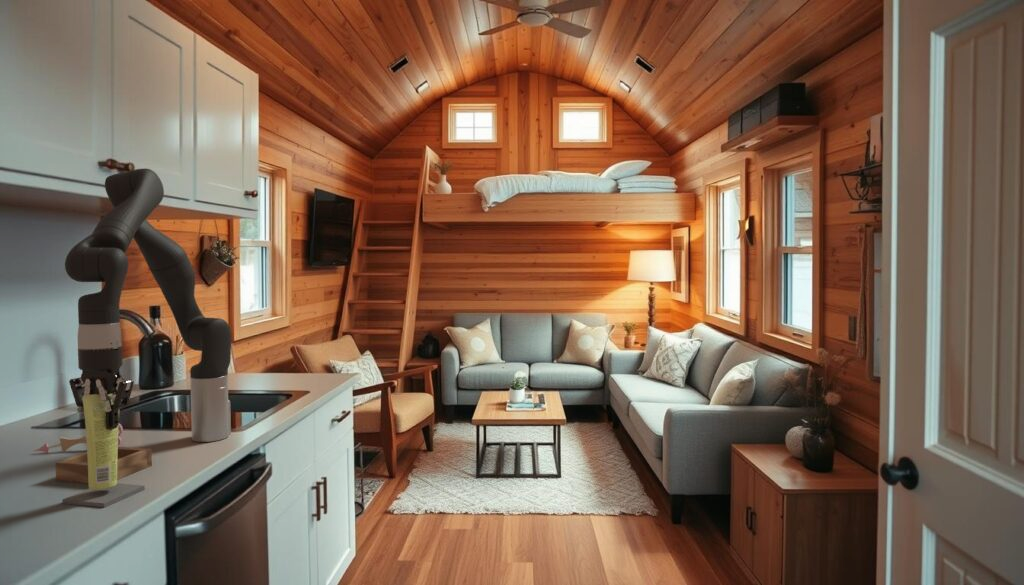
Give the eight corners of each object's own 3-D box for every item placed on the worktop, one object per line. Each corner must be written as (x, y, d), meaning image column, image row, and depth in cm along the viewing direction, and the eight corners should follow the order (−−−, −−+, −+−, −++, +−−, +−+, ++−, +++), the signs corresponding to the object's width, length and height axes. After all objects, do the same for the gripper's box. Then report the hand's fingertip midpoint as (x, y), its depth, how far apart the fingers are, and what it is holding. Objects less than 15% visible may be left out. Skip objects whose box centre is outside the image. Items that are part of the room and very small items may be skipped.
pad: (105, 485, 133) (105, 482, 133) (144, 489, 131) (144, 485, 131) (62, 503, 123) (62, 499, 123) (104, 507, 121) (104, 503, 121)
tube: (95, 482, 129) (93, 390, 128) (122, 480, 130) (121, 389, 129) (84, 492, 124) (82, 396, 123) (112, 490, 125) (110, 395, 124)
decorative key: (38, 463, 156) (126, 444, 162) (36, 465, 155) (124, 445, 161) (32, 438, 156) (120, 419, 162) (30, 439, 155) (119, 420, 160)
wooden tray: (106, 461, 149) (105, 445, 149) (151, 465, 146) (151, 449, 146) (55, 480, 136) (55, 462, 136) (105, 484, 133) (104, 466, 133)
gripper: (54, 346, 123) (57, 431, 124) (114, 348, 120) (116, 435, 121) (87, 342, 131) (90, 421, 131) (144, 343, 128) (146, 425, 129)
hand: (102, 427), depth 126 cm, fingers closed on tube, 4 cm apart
